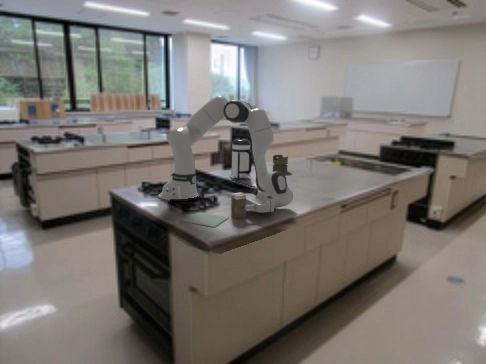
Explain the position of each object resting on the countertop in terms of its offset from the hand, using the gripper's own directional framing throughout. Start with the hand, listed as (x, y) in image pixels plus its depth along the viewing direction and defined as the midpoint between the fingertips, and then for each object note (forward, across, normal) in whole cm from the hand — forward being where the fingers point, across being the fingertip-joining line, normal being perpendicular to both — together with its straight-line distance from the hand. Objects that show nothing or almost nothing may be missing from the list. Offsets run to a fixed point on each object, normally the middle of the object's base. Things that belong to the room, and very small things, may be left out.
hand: (239, 204), depth 160 cm
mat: (+16, -3, +6) cm, 17 cm away
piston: (-79, -75, +6) cm, 109 cm away
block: (0, 0, +6) cm, 6 cm away
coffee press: (-40, -66, +6) cm, 77 cm away
